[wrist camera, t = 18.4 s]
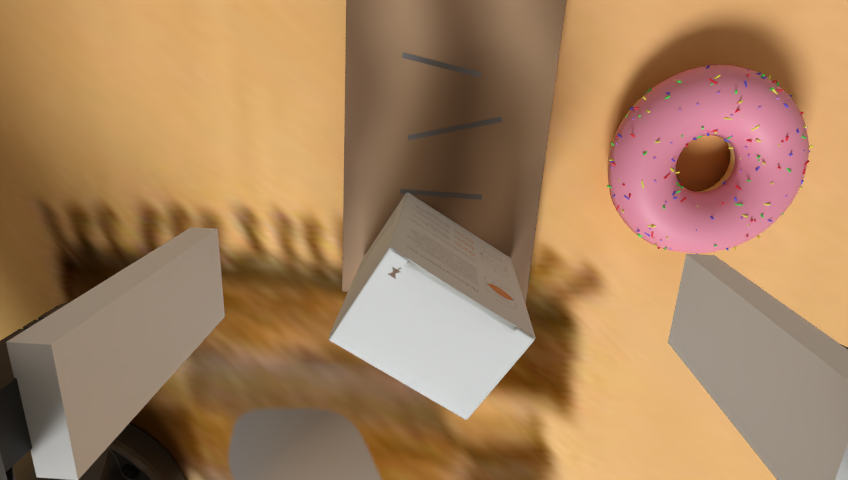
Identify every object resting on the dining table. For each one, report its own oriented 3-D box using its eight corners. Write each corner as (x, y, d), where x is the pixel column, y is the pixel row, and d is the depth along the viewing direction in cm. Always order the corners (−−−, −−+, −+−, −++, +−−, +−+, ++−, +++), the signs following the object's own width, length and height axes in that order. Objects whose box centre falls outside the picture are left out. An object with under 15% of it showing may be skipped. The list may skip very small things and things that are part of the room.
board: (346, 282, 36) (342, 291, 35) (352, -44, 30) (346, -49, 29) (522, 296, 36) (525, 305, 35) (565, -32, 30) (571, -37, 28)
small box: (361, 258, 34) (321, 340, 24) (407, 188, 33) (386, 244, 23) (463, 323, 35) (466, 426, 25) (514, 258, 34) (538, 340, 24)
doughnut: (766, 241, 34) (807, 264, 30) (591, 242, 35) (609, 265, 31) (799, 61, 31) (850, 61, 27) (604, 67, 31) (626, 67, 27)
